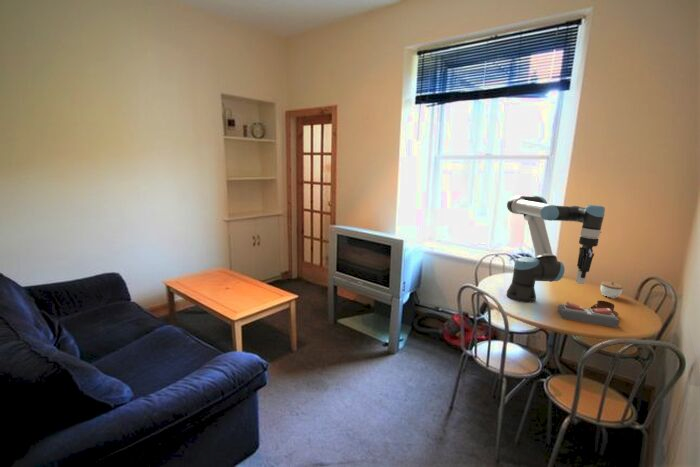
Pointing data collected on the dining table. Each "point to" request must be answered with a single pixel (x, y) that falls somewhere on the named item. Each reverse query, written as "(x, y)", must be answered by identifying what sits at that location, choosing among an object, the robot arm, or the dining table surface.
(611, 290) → the lidded jar
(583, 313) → the power strip
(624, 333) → the dining table surface
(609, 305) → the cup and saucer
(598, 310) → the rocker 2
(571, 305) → the rocker
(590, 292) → the dining table surface
